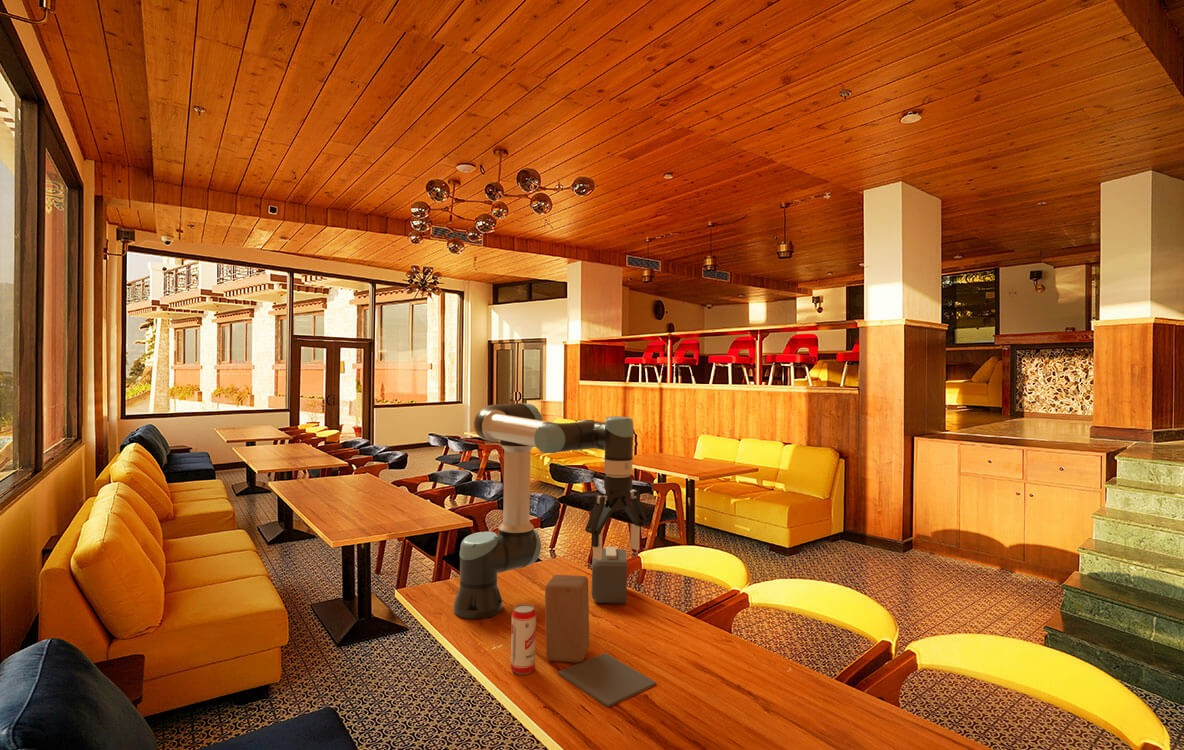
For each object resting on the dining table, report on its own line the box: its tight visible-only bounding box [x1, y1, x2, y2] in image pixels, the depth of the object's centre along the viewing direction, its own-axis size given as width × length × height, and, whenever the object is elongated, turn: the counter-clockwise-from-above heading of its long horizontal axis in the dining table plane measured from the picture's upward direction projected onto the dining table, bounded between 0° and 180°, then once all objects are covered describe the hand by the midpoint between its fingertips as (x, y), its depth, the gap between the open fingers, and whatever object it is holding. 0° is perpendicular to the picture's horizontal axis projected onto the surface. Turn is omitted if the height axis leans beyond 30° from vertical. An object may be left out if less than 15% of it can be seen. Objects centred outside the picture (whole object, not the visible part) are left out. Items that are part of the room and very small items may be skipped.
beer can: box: [510, 603, 537, 676], centre depth 158 cm, size 6×6×16 cm
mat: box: [557, 652, 657, 708], centre depth 154 cm, size 19×16×1 cm
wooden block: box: [544, 574, 590, 663], centre depth 166 cm, size 10×10×20 cm
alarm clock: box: [591, 546, 628, 605], centre depth 208 cm, size 16×11×16 cm
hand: (616, 553), depth 165 cm, fingers open, 13 cm apart
